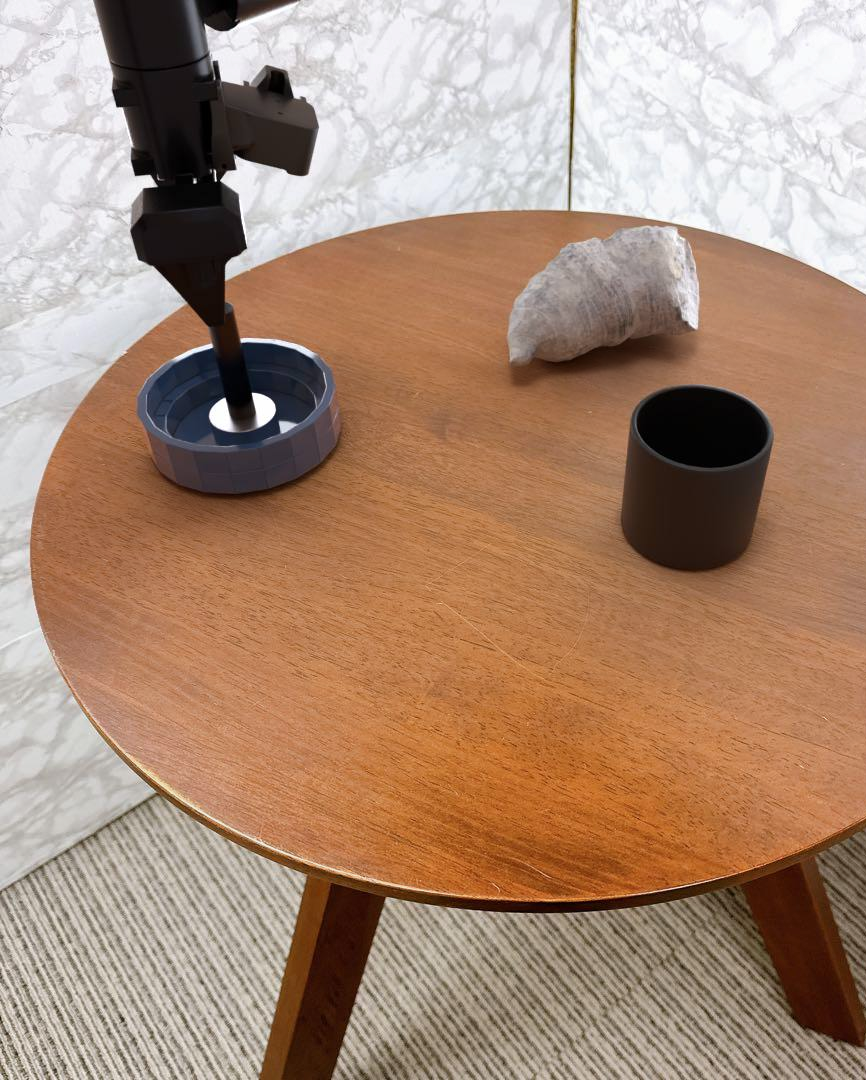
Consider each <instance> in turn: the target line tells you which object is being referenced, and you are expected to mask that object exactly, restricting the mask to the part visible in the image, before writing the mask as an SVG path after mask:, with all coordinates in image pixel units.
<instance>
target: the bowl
mask: <svg viewBox="0 0 866 1080" xmlns="http://www.w3.org/2000/svg"><path fill="white" fill-rule="evenodd" d="M240 339H241V344H242V349H243V353H244V358H245V362H246V367H247V371H248V376H249V381H250V385H251V390H252V393H257V394H261V395H264V396H266V397H268V398H270V399H271V400H272V401H273V402H274V404H275V406H276V410H277V415H278V420H279V425H280V433H279V435H276V436H273V437H270V438H268V439H265V440H262V441H259V442H256V443H249V444H242V445H235V446H228V447H224V446H218V445H217V443H216V442H215V440H214V436H213V432H212V428H211V424H210V420H209V413H210V410H211V409H212V407H213V406H214V405H215V404H216V403H217V402H219V401H220V400H222V399H224V398H225V395H224V391H223V387H222V383H221V379H220V374H219V370H218V366H217V362H216V358H215V354H214V350H213V345H212V342H211V343H208V344H205V345H202V346H197V347H195V348H194V347H193V348H191V349H189V350H188V351H184V353H181V354H180V355H178V356H175V357H174V358H171V359H169V360H168V361H166V362H164V363H163V364H162V365H161V366H160V367H158V369H157V370H155V371H154V372H153V373H152V374H151V375H150V376H148V378H146V380H145V382H144V384H143V386H142V387H141V389H140V391H139V392H138V394H137V397H136V398H137V399H136V415H137V419H138V422H139V425H140V428H141V431H142V434H143V438H144V441H145V444H146V447H147V450H148V453H149V456H150V458H151V459H152V461H153V463H154V465H155V467H156V468H157V470H158V471H159V472H160V473H161V474H163V476H165V477H167V478H168V479H170V480H171V481H173V482H174V483H175V484H177V485H178V486H181V487H184V488H188V489H192V490H196V491H199V492H202V493H209V494H210V493H211V494H231V495H232V494H233V495H235V494H237V495H238V494H245V493H250V492H251V493H252V492H256V491H257V492H258V491H264V490H268V489H272V488H274V487H278V486H280V485H283V484H286V483H288V482H291V481H294V480H297V479H299V478H300V477H302V476H303V475H304V474H306V473H308V472H309V471H310V470H313V469H314V468H315V467H317V466H319V465H320V464H321V463H322V462H323V461H325V459H326V458H327V457H328V455H329V454H330V453H331V452H332V450H334V448H335V447H336V445H337V443H338V439H339V436H340V432H341V429H342V422H341V421H342V420H341V415H340V414H341V413H340V408H339V401H338V394H337V387H336V382H335V376H334V373H333V369H331V367H330V366H329V365H328V364H327V363H326V362H325V360H324V359H323V358H322V357H321V356H320V355H319V354H317V353H315V352H313V351H312V350H309V349H308V348H306V347H305V346H302V345H301V344H297V343H292V342H289V341H284V340H282V339H281V340H280V339H274V338H271V339H270V338H257V337H256V338H254V337H245V338H244V337H243V338H240Z"/></svg>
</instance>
